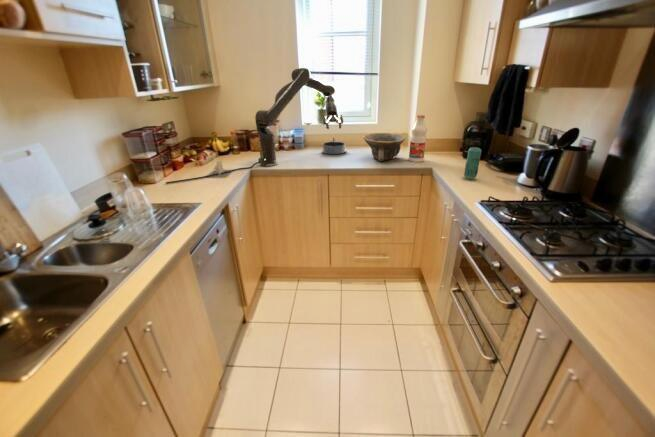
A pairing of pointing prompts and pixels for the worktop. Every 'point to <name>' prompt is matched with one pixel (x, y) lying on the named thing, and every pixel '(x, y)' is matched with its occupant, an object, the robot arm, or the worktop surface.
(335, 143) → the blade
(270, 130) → the robot arm
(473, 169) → the beverage bottle
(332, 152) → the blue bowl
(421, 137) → the fruit juice
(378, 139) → the bowl
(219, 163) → the architectural model
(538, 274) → the worktop surface
